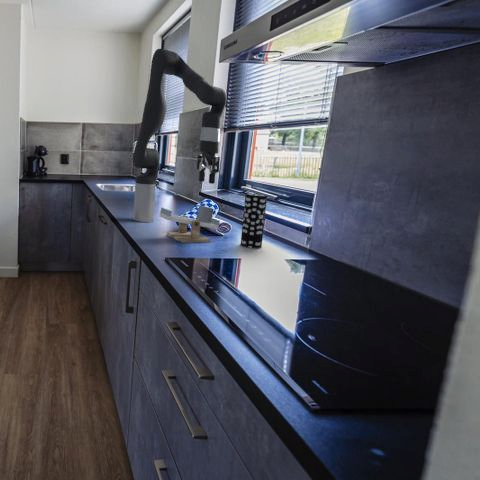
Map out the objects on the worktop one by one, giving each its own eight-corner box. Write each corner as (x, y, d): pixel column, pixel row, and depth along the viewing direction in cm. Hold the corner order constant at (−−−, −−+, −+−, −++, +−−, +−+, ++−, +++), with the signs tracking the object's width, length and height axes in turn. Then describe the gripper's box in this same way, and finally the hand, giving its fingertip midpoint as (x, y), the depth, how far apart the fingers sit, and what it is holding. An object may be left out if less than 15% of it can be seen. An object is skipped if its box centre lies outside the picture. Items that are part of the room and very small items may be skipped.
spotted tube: (262, 244, 173) (267, 195, 169) (260, 249, 164) (266, 196, 161) (241, 242, 173) (246, 192, 169) (239, 246, 165) (244, 194, 161)
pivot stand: (167, 235, 173) (168, 215, 171) (194, 234, 179) (195, 215, 178) (181, 242, 161) (183, 221, 160) (209, 242, 168) (211, 221, 166)
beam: (159, 216, 167) (161, 207, 166) (207, 225, 179) (209, 217, 179) (168, 220, 159) (170, 211, 159) (218, 229, 172) (220, 220, 171)
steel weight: (195, 219, 173) (199, 205, 172) (205, 221, 175) (208, 207, 175) (200, 221, 169) (204, 206, 169) (210, 223, 172) (213, 208, 171)
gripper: (192, 139, 170) (189, 180, 173) (209, 139, 158) (206, 183, 161) (209, 141, 174) (206, 181, 177) (227, 141, 162) (223, 184, 165)
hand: (206, 182), depth 169 cm, fingers open, 8 cm apart
